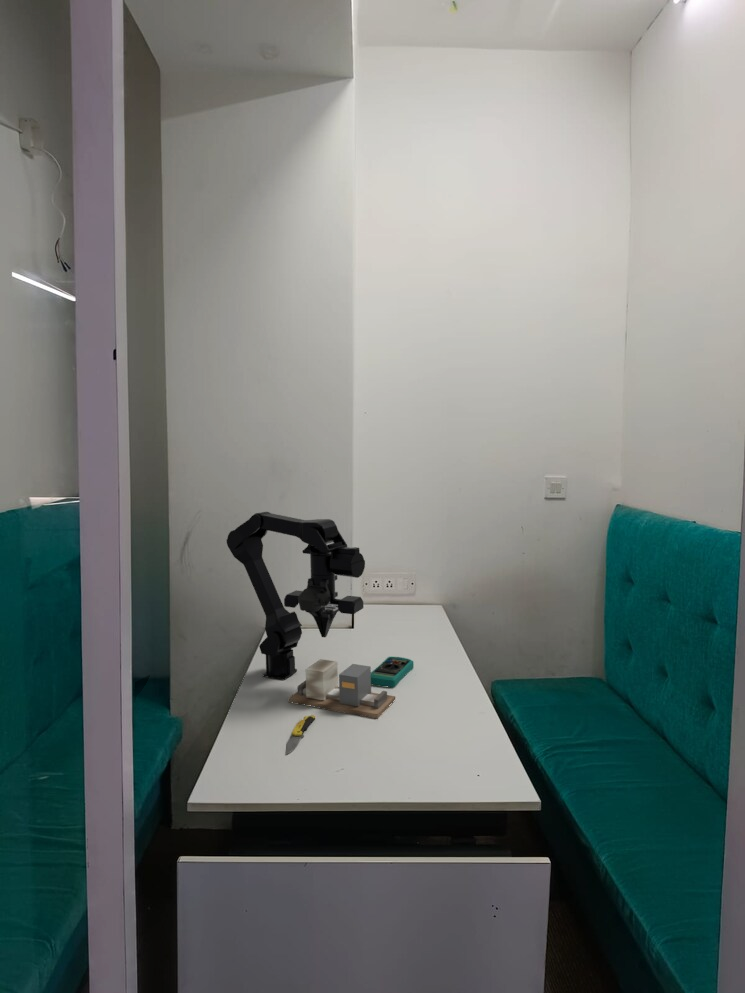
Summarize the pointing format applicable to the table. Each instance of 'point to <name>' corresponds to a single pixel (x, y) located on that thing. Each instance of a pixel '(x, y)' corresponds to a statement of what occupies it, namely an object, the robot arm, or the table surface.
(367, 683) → the block
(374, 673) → the digital multimeter
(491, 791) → the table surface
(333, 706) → the din panel
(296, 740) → the utility knife
